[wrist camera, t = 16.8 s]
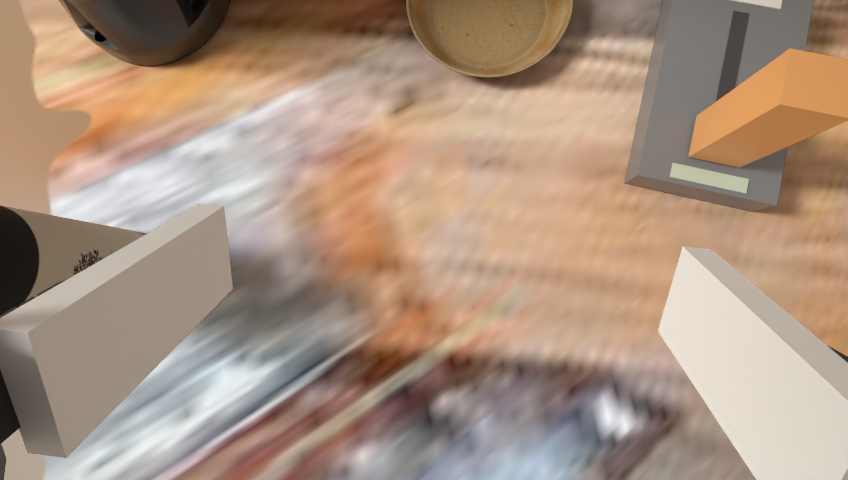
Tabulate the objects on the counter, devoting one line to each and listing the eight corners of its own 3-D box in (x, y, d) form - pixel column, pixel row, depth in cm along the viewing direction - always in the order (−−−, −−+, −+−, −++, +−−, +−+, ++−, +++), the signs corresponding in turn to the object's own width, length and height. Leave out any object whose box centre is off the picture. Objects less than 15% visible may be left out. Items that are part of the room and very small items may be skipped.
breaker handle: (739, 167, 38) (852, 118, 27) (688, 156, 38) (780, 104, 27) (746, 126, 38) (861, 62, 27) (696, 115, 38) (790, 48, 28)
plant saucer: (582, -43, 44) (590, -64, 42) (547, 104, 43) (553, 92, 40) (430, -71, 45) (428, -93, 43) (391, 71, 44) (387, 57, 41)
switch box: (753, 211, 40) (777, 205, 37) (624, 183, 41) (638, 174, 38) (801, -50, 43) (828, -77, 39) (678, -72, 43) (695, -99, 40)
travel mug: (66, 291, 43) (-205, 291, 26) (110, 215, 44) (-125, 163, 26) (137, 332, 43) (-92, 362, 25) (181, 254, 43) (-13, 228, 25)
